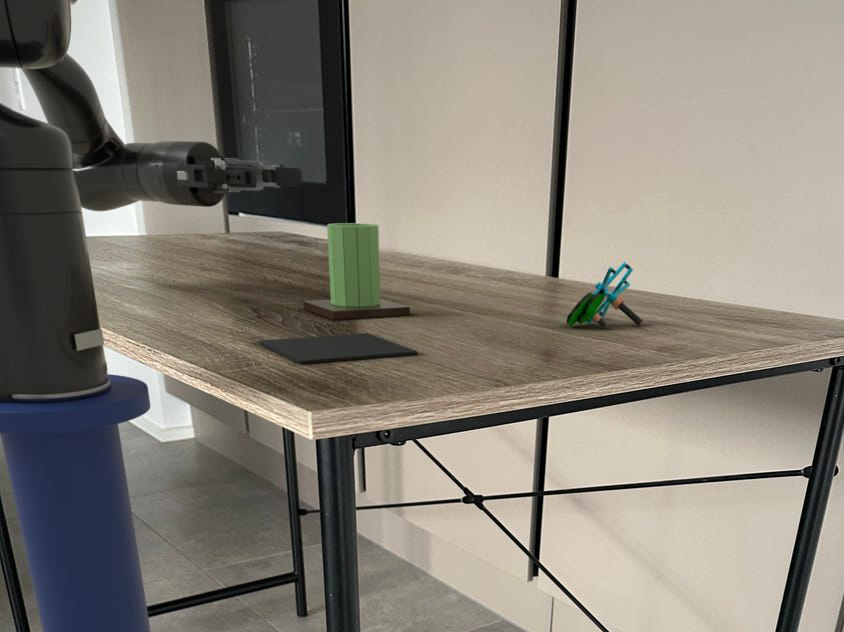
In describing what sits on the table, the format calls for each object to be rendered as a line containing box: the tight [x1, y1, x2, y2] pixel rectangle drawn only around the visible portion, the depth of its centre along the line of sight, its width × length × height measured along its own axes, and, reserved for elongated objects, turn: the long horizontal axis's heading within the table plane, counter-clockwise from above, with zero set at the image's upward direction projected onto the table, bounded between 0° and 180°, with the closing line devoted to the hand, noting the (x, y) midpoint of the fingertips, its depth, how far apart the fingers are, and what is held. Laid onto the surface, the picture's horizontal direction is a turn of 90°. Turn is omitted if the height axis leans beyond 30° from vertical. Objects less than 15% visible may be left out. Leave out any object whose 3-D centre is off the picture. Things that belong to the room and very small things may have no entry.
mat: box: [258, 332, 418, 365], centre depth 94 cm, size 12×12×1 cm
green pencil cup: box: [326, 222, 382, 307], centre depth 114 cm, size 6×6×9 cm
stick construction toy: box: [565, 261, 643, 328], centre depth 110 cm, size 12×7×8 cm
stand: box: [303, 298, 411, 321], centre depth 115 cm, size 10×10×9 cm
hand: (278, 177), depth 115 cm, fingers open, 8 cm apart
